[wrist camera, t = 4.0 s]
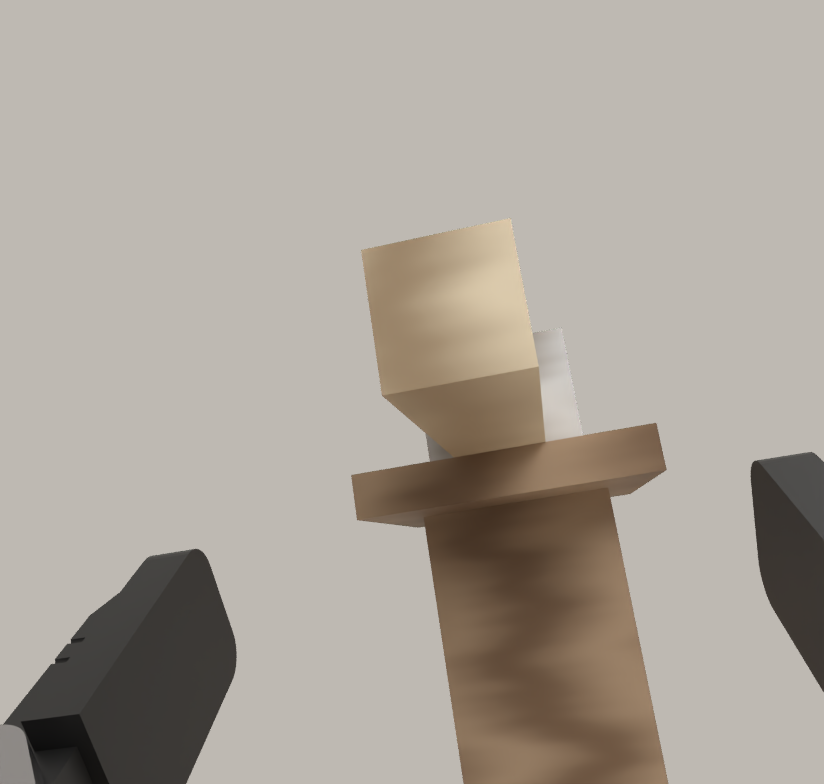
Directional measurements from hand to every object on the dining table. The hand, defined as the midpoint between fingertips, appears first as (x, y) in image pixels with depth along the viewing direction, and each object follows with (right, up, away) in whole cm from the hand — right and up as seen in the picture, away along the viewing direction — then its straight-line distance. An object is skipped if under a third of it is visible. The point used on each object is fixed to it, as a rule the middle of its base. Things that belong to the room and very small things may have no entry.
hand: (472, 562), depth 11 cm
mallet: (+2, +1, +14) cm, 14 cm away
